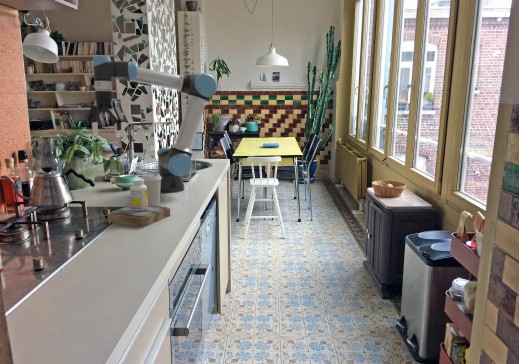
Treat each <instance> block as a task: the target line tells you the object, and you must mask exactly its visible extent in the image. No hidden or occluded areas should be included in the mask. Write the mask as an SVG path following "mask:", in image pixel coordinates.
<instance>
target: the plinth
mask: <svg viewBox="0 0 519 364" xmlns="http://www.w3.org/2000/svg"><path fill="white" fill-rule="evenodd" d="M170 216H171V207H167V206H163V205H160V206H155V205H148V209H147V210H144V211H133V210H132V205H131V204H130V205H127V206H125V207H122V208H121V207H120V208H119V209H116V210H113V211H111V212H107V221H108V220H110V221H114V222H116V223H115V224H118V225H119V224H120V225H127V226H131V227H132V226H133V227H139V228H145V227H147V226H150V225H152V224H154V223H156V222H159V221H162V220H164V219H166V218H169V217H170Z"/></svg>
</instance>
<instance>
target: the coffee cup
mask: <svg viewBox="0 0 519 364" xmlns="http://www.w3.org/2000/svg"><path fill="white" fill-rule="evenodd" d="M140 179H144V185H146V187H147V198H148V205H155V206H161V192H160V186H161V179H162V178H161V176H160V174H159V173H158V172H157V173H156V172H155V173H154V172H149V173H143V174H142V175H141V177H140Z"/></svg>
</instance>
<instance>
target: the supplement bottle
mask: <svg viewBox="0 0 519 364" xmlns="http://www.w3.org/2000/svg"><path fill="white" fill-rule="evenodd" d="M131 183H132V185H131V186H130V188H129V189H130V199H131V200H130V201H131V202H130V203H131V204H130V205H132V210H133V211H144V210H147V209H148V198H147V187H146V185H144V179H141V178H133V179H132V180H131Z"/></svg>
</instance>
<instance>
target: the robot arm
mask: <svg viewBox="0 0 519 364" xmlns="http://www.w3.org/2000/svg"><path fill="white" fill-rule="evenodd" d="M92 68H93V80H94V81H93V82H94V90H96V91H95V92H94V93H95V95H94V97H95V99H96V100H92V101H91V102H90V104H91V105H90V109H89V112H88V116H87V119H86V120H87V121H88V122H90V126H91V127H90V128H91V130H92V136H93V137H99V127H98V126H99V125H98V121H97V120H98V119H99V116H100V115H101V113H102V112H107V113H109V115H110V116H111V118H112V119H113V120H114V122H115V123H114V134H115V135H114V136H115V138H121V130H122V123H124V122H126V121H125V118H124V116H123V113H122V111H121V109H120V106H119V102H118V101H116V100H114V101H113V98H114V96H113V95H114V94H113V84H112V82H113V81H112V78H113V79H116V80H123V81H128V82H129V81H130V82H134V83H140V84H146V85H149V86H155V87H160V88H166V89H172V90H176V91H177V92H178V93H182V94H187V97H188V101H187V102H188V103H187V105H186V108H185V111H184V113H183V118H182V120H181V124H180V128H179V131H178V133H177V136H176V139H175V143H174V144H172V145H171V146H170V148H166V147H165V148H159V149H158V150H157V157H158V174H160V176H161V178H162V179H161V186H160V193H177V192H182V191H185V184H184V181H183V177H182V176H185V175H187V174H188V173H189V172H190V171H191V170H192V167H193V162H192V157H193V154H194V153H193V151H192V147H193V144H194V142H195V138H196V135H197V132H198V130H199V129H198V128H199V125H200V122H201V119H202V116H203V113H204V110H205V107H206V105H208V104H209V103H210V101H211V97H212V96H214V95H215V94H216V92H217V90H218V83H217V81H216V79H215V78H214V76H213V75H212V74H209V73H205V72H202V73H201V72H200V73H193V74H184V73H179V74H174V73H169V72H164V71H160V70H154V69H149V68H146V67H144V68H143V67H139V66H138V63H137V62H135V61H127V60H125V61H124V60H123V61H121V60H119V61H118V60H112V59H111V57H110V56H109V55H94V56H93V57H92Z"/></svg>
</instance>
